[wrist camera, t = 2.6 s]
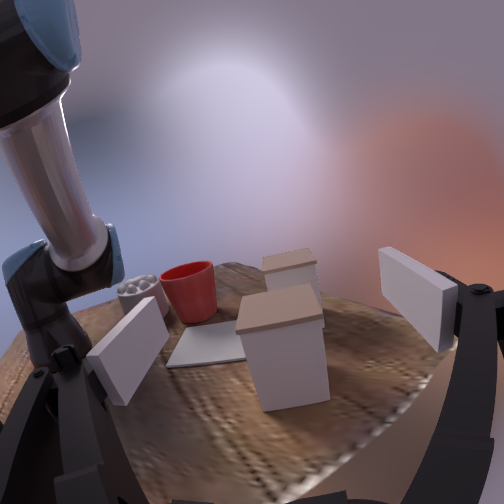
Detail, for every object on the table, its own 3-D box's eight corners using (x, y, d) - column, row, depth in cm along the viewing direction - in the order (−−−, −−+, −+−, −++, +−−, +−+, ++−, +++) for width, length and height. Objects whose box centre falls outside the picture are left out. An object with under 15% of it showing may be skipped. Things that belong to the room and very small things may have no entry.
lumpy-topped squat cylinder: (163, 300, 68) (153, 268, 66) (174, 316, 56) (161, 278, 54) (126, 313, 63) (114, 281, 61) (129, 332, 52) (114, 294, 50)
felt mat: (166, 367, 37) (165, 365, 37) (187, 329, 48) (186, 327, 48) (246, 359, 36) (245, 357, 36) (251, 319, 47) (250, 317, 47)
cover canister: (260, 413, 25) (234, 330, 23) (262, 371, 32) (242, 296, 30) (332, 400, 24) (322, 313, 22) (321, 360, 31) (310, 282, 29)
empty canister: (276, 338, 39) (261, 271, 37) (275, 315, 47) (262, 257, 44) (326, 327, 39) (316, 260, 36) (318, 306, 46) (308, 247, 43)
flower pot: (236, 307, 54) (223, 261, 52) (190, 333, 47) (172, 282, 45) (206, 299, 62) (194, 259, 59) (165, 320, 55) (150, 276, 53)
